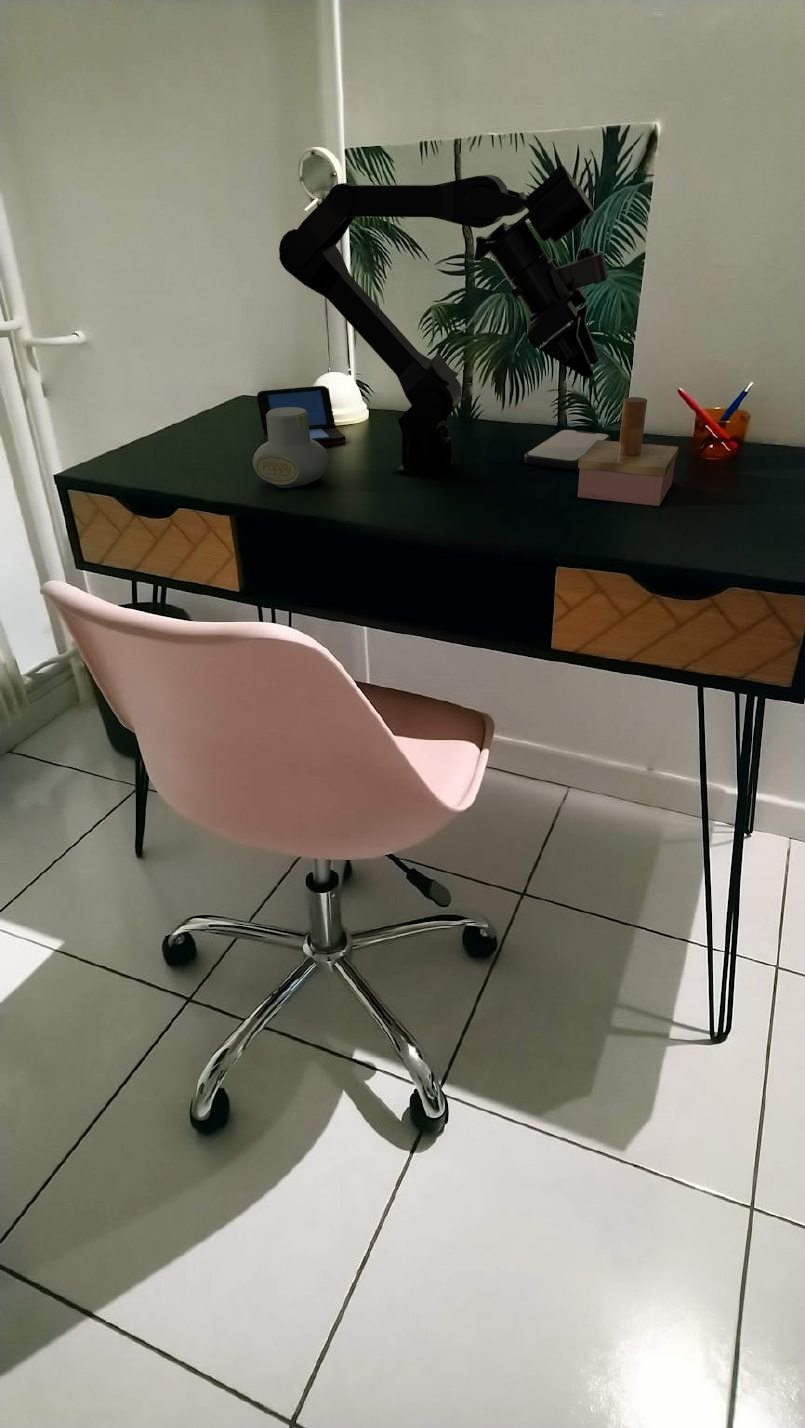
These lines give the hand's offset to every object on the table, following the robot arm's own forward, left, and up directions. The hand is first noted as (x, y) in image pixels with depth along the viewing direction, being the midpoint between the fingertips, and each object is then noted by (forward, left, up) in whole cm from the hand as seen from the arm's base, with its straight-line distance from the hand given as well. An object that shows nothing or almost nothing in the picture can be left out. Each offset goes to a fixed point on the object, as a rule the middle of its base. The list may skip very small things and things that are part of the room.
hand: (593, 369), depth 121 cm
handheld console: (-49, +6, -15) cm, 52 cm away
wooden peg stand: (+7, -4, -11) cm, 13 cm away
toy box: (+7, -3, -15) cm, 17 cm away
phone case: (-5, +11, -15) cm, 20 cm away
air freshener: (-39, -15, -15) cm, 45 cm away
